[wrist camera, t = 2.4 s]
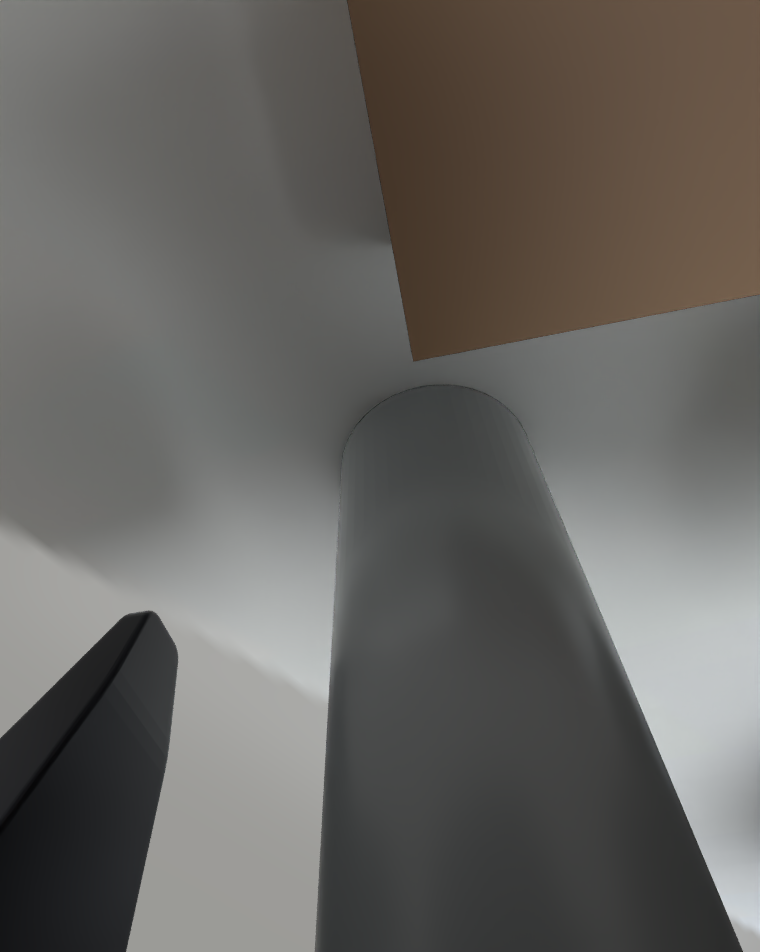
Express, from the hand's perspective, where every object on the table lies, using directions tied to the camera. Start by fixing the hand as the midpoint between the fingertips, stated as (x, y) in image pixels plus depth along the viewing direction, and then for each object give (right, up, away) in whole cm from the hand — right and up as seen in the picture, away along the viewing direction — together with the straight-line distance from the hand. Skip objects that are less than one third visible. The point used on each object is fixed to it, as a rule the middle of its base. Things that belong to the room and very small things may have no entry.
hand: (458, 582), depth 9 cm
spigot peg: (0, +2, +2) cm, 3 cm away
